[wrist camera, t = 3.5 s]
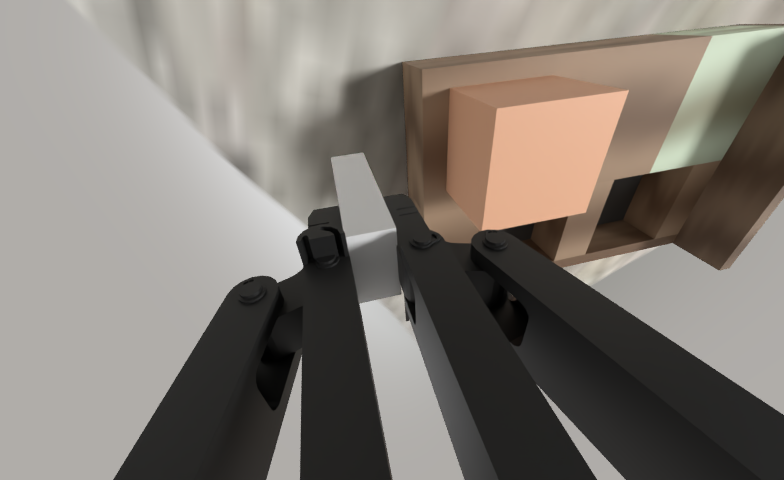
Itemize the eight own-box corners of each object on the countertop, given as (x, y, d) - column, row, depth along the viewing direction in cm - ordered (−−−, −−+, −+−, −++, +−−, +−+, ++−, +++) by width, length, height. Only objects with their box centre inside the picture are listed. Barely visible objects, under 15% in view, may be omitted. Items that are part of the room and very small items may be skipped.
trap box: (402, 61, 18) (452, 81, 12) (739, 24, 22) (919, 23, 15) (411, 267, 28) (442, 338, 22) (643, 219, 31) (729, 268, 25)
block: (449, 87, 16) (497, 108, 12) (552, 75, 17) (629, 90, 13) (446, 190, 19) (481, 233, 15) (531, 175, 20) (585, 212, 16)
